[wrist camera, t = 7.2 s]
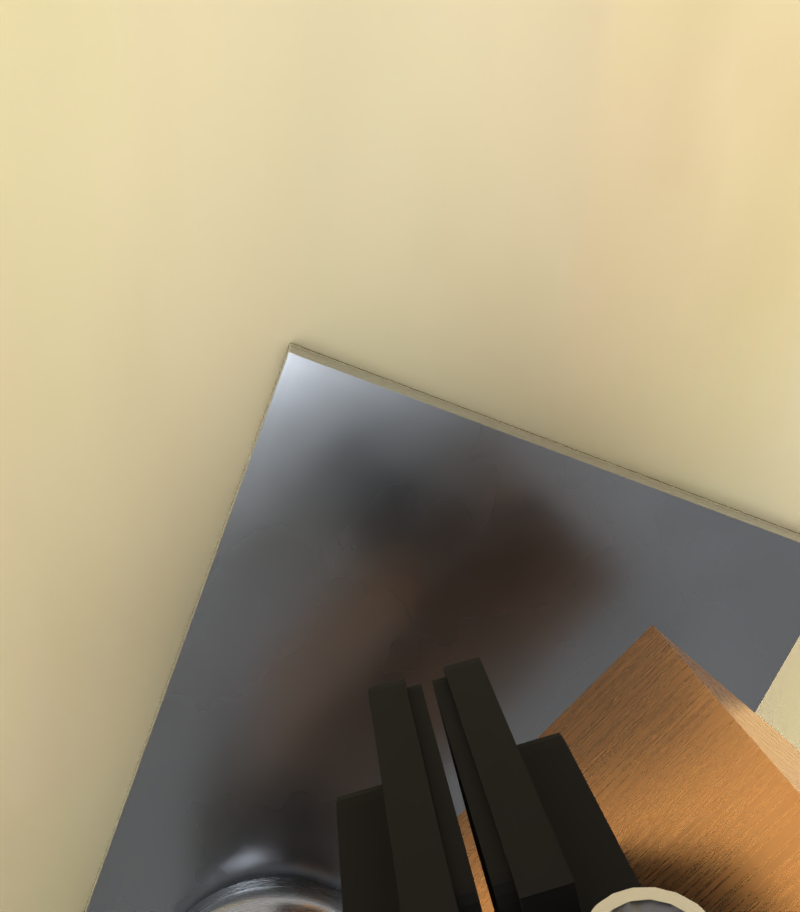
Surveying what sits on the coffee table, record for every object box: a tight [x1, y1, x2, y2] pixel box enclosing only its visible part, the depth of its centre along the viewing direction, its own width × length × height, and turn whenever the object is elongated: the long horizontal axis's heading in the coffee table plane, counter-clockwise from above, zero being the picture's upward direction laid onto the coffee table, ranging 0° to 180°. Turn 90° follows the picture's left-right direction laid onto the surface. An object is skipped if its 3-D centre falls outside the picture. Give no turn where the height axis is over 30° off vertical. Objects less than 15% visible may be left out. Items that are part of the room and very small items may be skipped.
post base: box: [84, 343, 800, 912], centre depth 17 cm, size 20×13×4 cm
